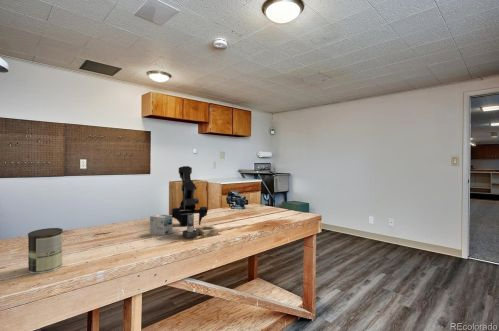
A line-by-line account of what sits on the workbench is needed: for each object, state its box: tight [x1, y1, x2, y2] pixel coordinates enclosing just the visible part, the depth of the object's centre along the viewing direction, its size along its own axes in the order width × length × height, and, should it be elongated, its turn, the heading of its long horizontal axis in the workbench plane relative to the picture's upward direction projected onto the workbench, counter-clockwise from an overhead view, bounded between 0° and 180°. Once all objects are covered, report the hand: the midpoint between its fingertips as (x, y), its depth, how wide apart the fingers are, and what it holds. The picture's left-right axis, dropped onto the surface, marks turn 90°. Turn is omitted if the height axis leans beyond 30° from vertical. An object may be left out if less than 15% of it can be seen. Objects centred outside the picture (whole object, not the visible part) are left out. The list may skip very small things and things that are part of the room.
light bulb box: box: [149, 213, 173, 236], centre depth 142 cm, size 11×7×11 cm, turn 65°
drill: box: [186, 214, 195, 233], centre depth 135 cm, size 3×3×12 cm
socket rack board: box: [174, 225, 223, 243], centre depth 138 cm, size 22×12×4 cm, turn 130°
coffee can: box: [27, 227, 64, 275], centre depth 97 cm, size 10×10×14 cm
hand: (190, 225), depth 134 cm, fingers open, 9 cm apart
